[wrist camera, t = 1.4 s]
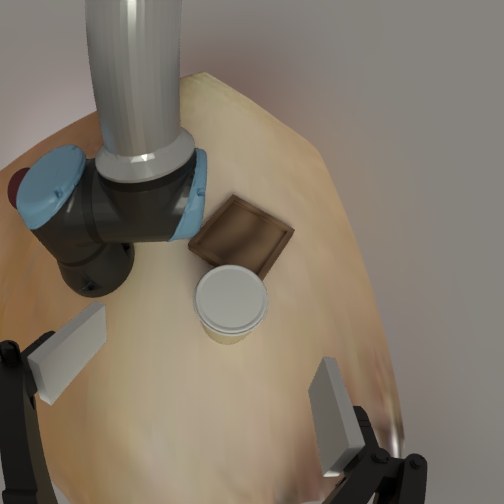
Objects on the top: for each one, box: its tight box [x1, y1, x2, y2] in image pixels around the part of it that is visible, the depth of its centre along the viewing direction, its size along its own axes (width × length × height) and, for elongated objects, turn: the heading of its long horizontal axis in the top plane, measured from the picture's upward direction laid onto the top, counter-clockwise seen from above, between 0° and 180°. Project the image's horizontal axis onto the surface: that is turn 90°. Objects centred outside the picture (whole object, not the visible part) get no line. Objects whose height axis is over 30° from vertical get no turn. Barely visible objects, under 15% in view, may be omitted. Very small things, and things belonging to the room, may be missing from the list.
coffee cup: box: [193, 265, 268, 345], centre depth 38 cm, size 9×9×12 cm
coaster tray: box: [188, 195, 295, 281], centre depth 50 cm, size 14×14×2 cm
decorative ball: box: [8, 168, 30, 210], centre depth 45 cm, size 10×10×10 cm
